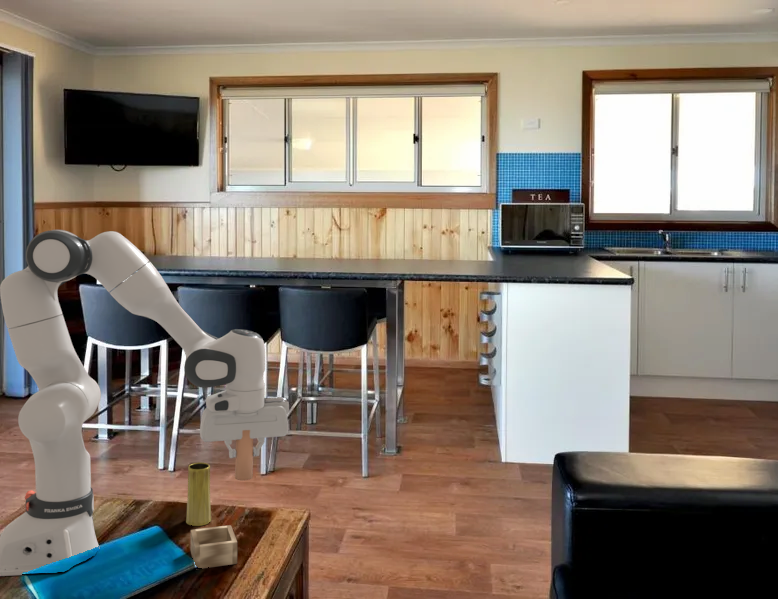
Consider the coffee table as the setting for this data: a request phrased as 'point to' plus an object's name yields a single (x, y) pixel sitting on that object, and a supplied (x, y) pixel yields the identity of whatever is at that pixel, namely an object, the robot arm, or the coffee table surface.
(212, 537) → the socket block
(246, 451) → the peg
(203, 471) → the vase
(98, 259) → the robot arm
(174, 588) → the coffee table surface
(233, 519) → the coffee table surface
